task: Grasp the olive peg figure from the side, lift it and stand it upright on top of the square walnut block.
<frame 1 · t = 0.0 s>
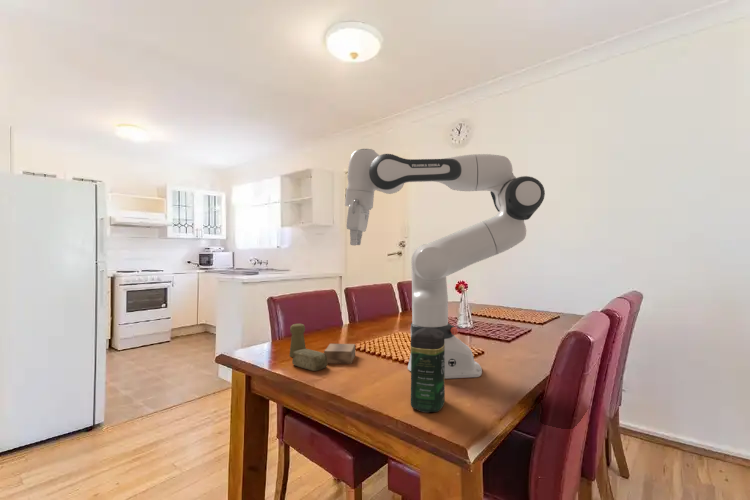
hand: (355, 245, 117), 39 cm above the table, tool pointing down, fingers open, 8 cm apart
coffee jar: (428, 405, 90), on the table
stone block: (309, 367, 120), on the table
olive peg figure: (298, 355, 132), on the table
walnut block: (340, 359, 127), on the table
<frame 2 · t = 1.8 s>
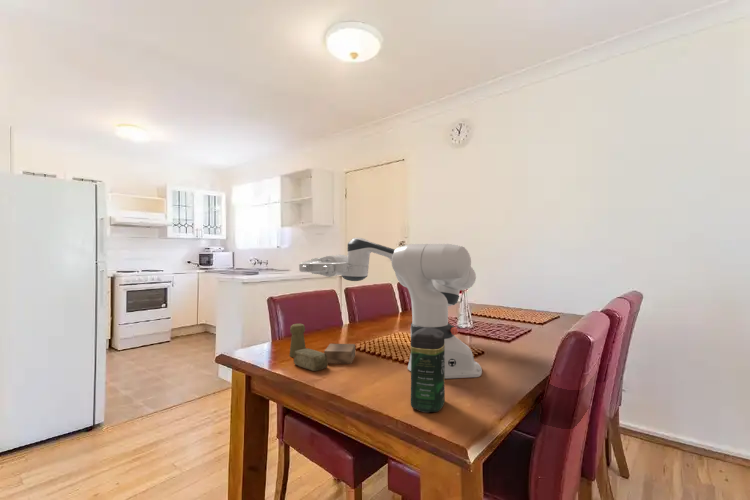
hand: (314, 268, 143), 30 cm above the table, tool horizontal, fingers open, 8 cm apart
nothing on the table moved.
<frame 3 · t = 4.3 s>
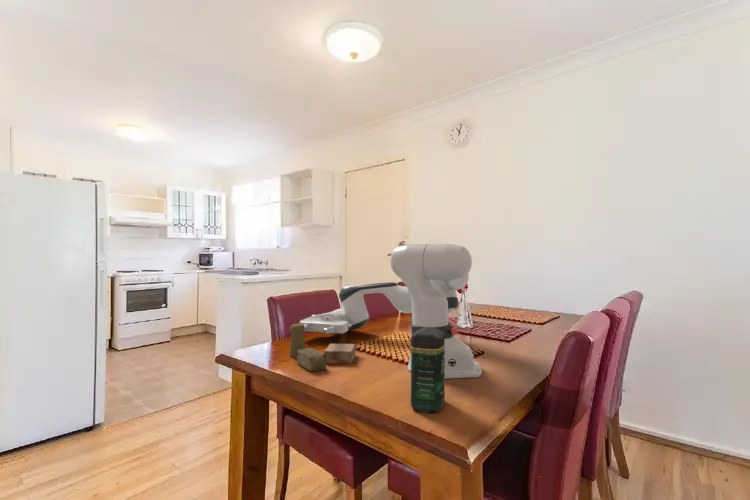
hand: (314, 330, 143), 6 cm above the table, tool horizontal, fingers open, 8 cm apart
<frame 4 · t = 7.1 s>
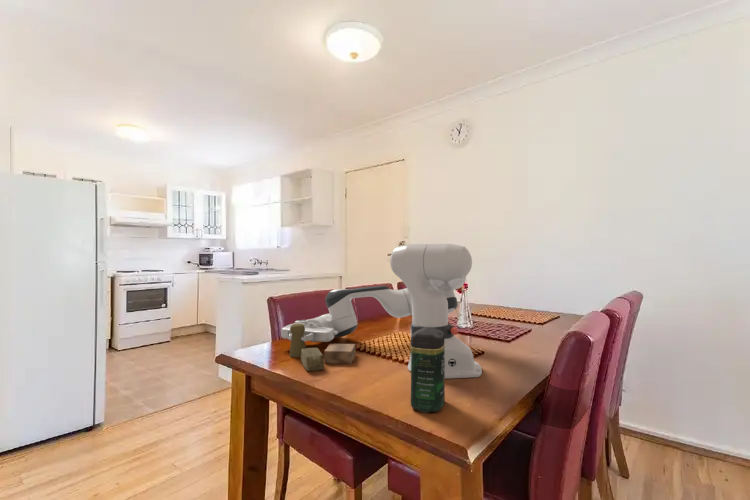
hand: (296, 338, 131), 6 cm above the table, tool horizontal, fingers closed on olive peg figure, 4 cm apart
olive peg figure: (298, 355, 132), on the table, touching gripper
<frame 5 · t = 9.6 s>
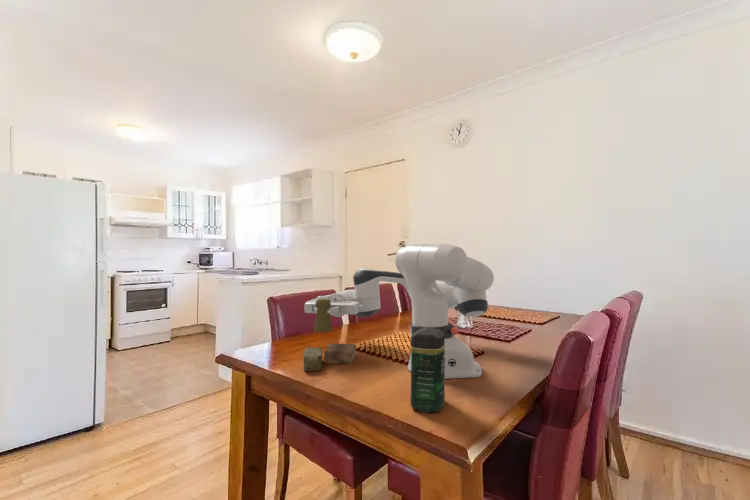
hand: (322, 311, 128), 16 cm above the table, tool horizontal, fingers closed on olive peg figure, 3 cm apart
olive peg figure: (323, 331, 129), point 9 cm above the table, touching gripper
when the fingers open (11 cm above the table, at t = 12.0 s): olive peg figure stays where it is, resting on walnut block.
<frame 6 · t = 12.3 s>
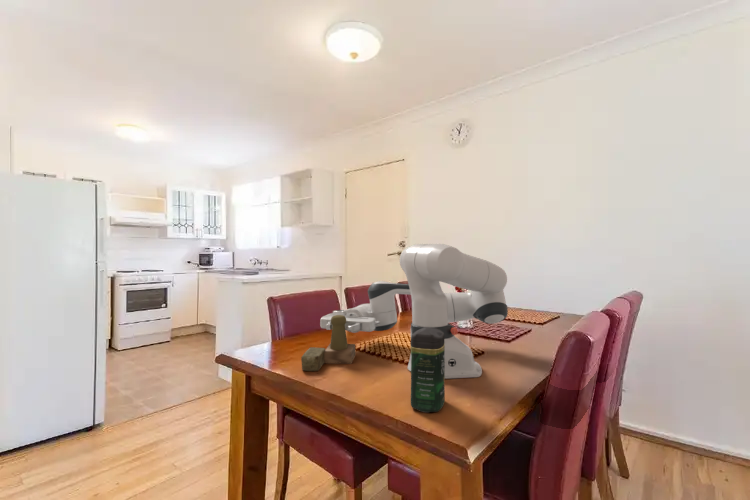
hand: (338, 328, 126), 11 cm above the table, tool horizontal, fingers open, 7 cm apart
olive peg figure: (338, 348, 127), point 4 cm above the table, touching walnut block
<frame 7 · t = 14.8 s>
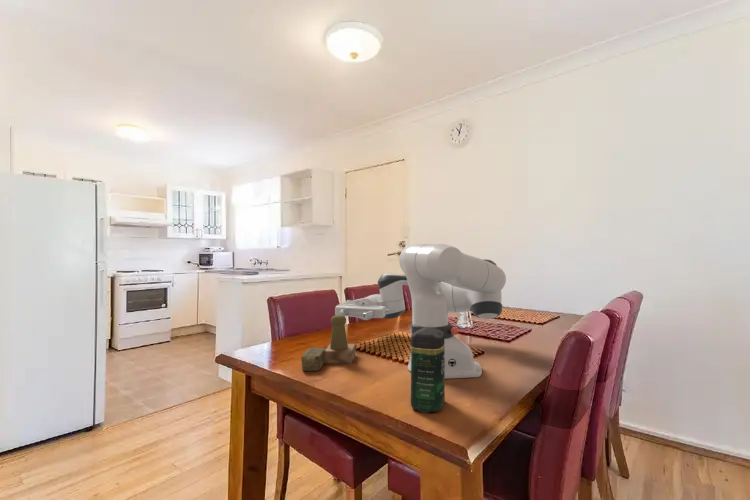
hand: (352, 314, 139), 13 cm above the table, tool horizontal, fingers open, 8 cm apart
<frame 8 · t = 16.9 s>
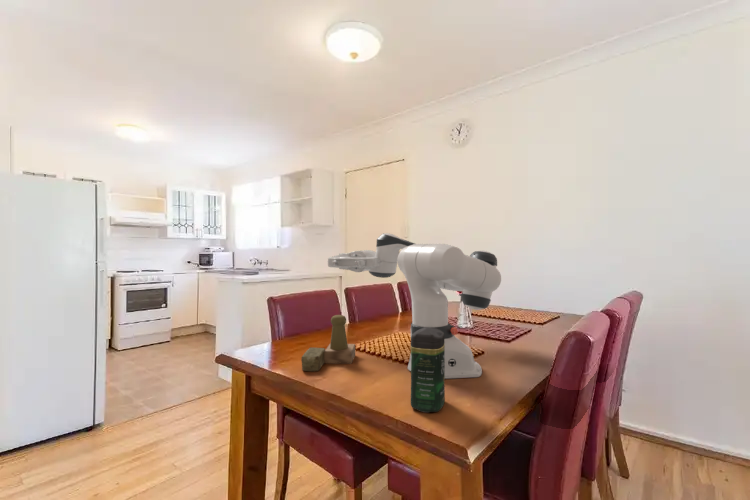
hand: (345, 263, 139), 32 cm above the table, tool horizontal, fingers open, 8 cm apart
at the end: olive peg figure inside the target area on the walnut block (0.4 cm from its centre), point 3.8 cm above the walnut block's base; olive peg figure tilted 0°; the gripper is holding nothing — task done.
